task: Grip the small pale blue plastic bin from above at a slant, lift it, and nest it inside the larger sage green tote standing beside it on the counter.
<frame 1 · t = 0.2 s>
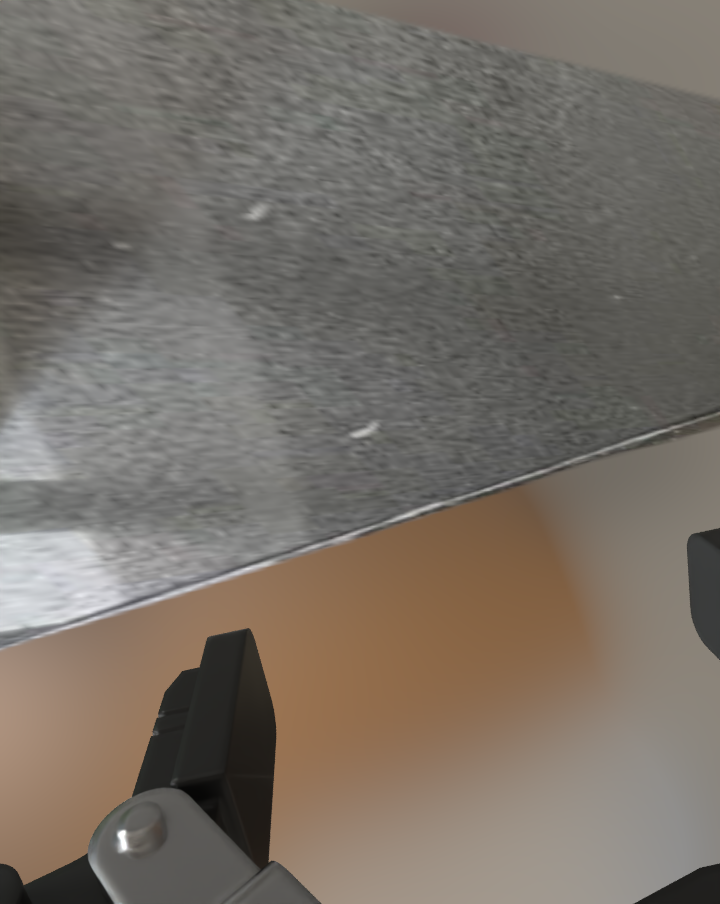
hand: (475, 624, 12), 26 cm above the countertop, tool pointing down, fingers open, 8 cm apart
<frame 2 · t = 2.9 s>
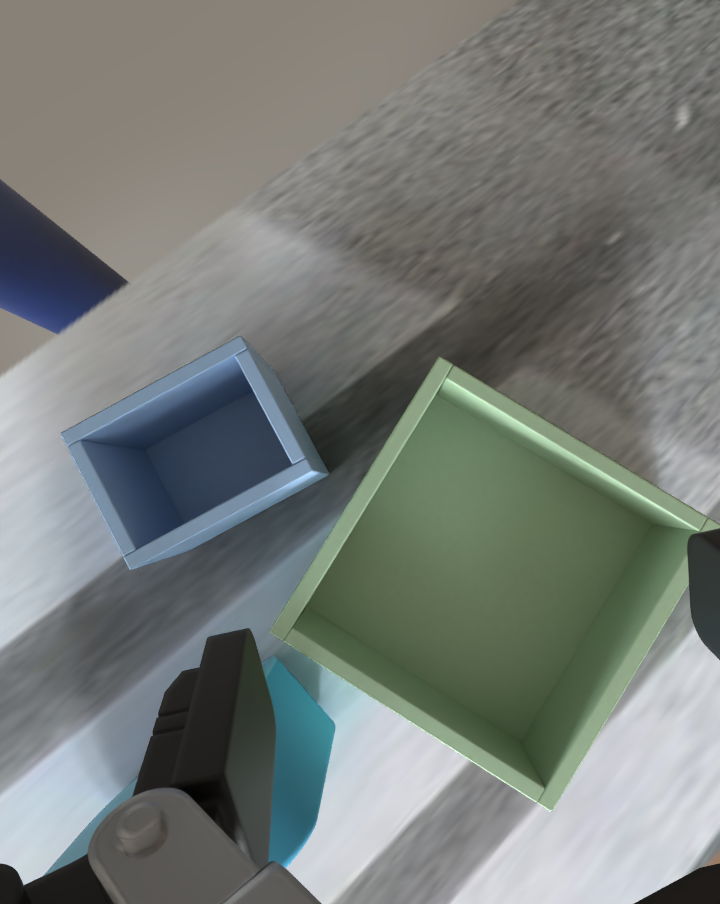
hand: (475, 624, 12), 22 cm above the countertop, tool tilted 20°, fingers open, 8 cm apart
green tote: (475, 563, 34), on the countertop
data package: (219, 763, 34), on the countertop
small bin: (231, 459, 34), on the countertop
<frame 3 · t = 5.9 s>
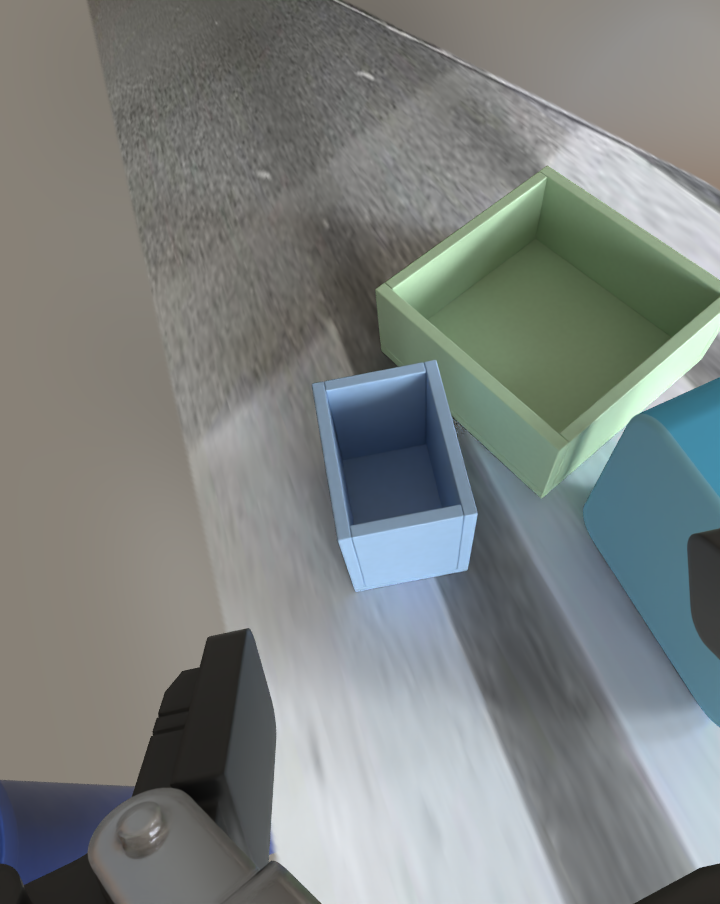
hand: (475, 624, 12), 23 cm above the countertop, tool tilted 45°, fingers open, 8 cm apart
green tote: (537, 354, 42), on the countertop
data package: (679, 600, 34), on the countertop
small bin: (396, 511, 38), on the countertop
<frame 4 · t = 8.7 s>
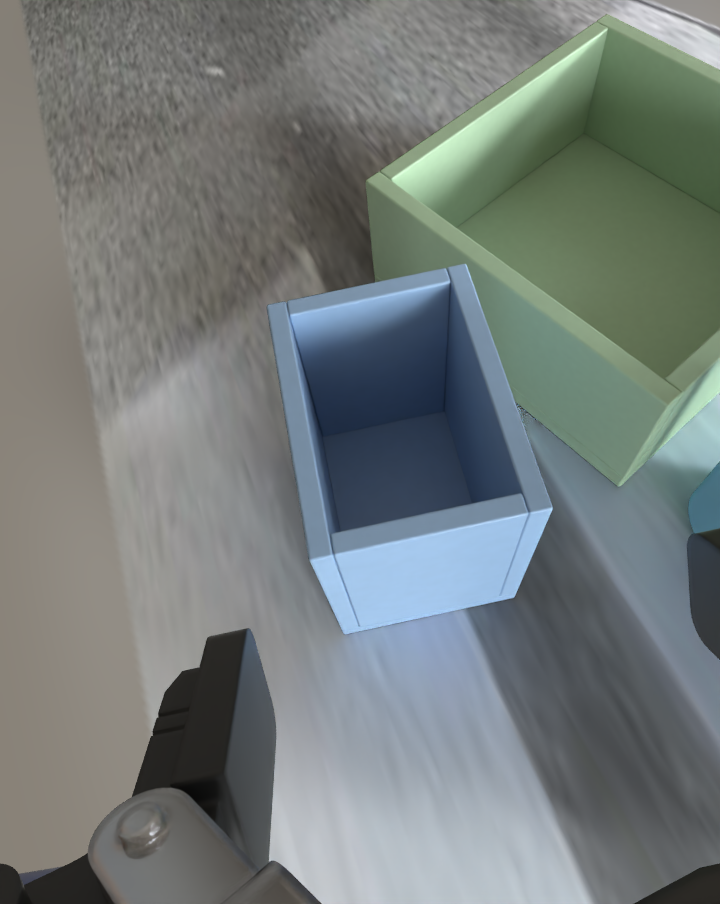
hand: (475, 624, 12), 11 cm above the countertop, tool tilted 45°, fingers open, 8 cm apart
green tote: (595, 285, 29), on the countertop
small bin: (403, 510, 25), on the countertop
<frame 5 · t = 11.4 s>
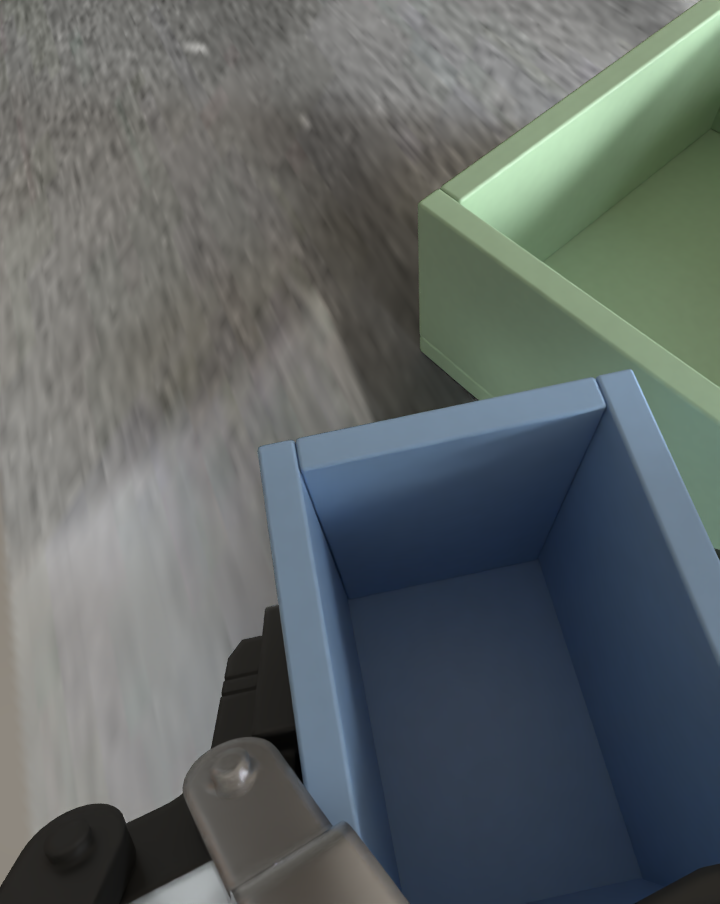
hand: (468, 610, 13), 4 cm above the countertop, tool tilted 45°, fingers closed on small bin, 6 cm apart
small bin: (478, 727, 16), on the countertop, touching gripper
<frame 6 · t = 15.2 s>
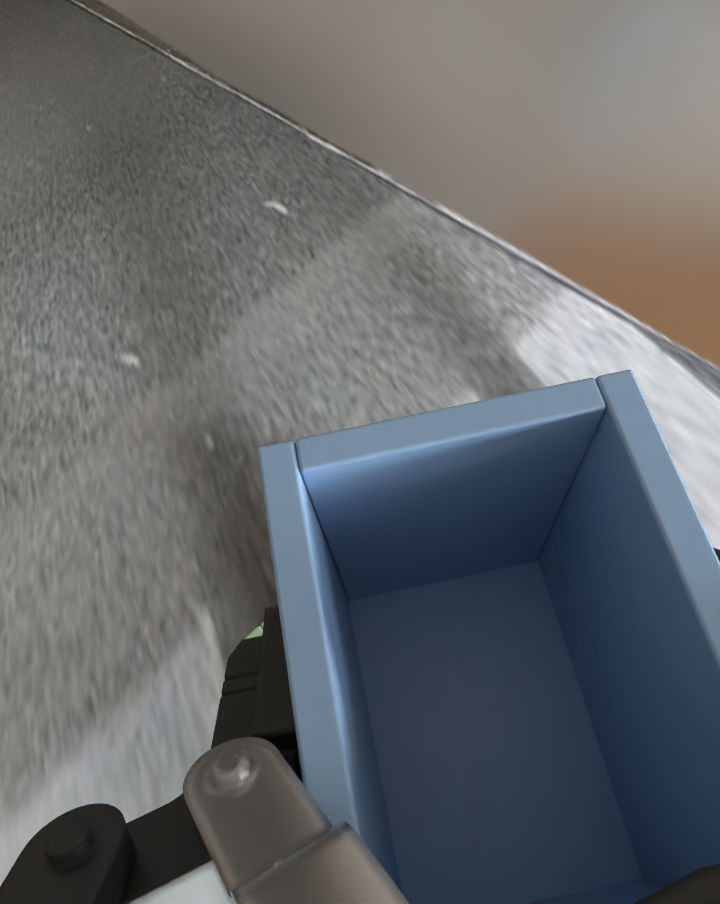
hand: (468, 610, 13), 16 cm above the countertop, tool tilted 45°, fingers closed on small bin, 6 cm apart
small bin: (478, 728, 16), point 12 cm above the countertop, touching gripper
when the fingers open (5 cm above the countertop, at t = 19.2 s): small bin stays where it is, resting on green tote.
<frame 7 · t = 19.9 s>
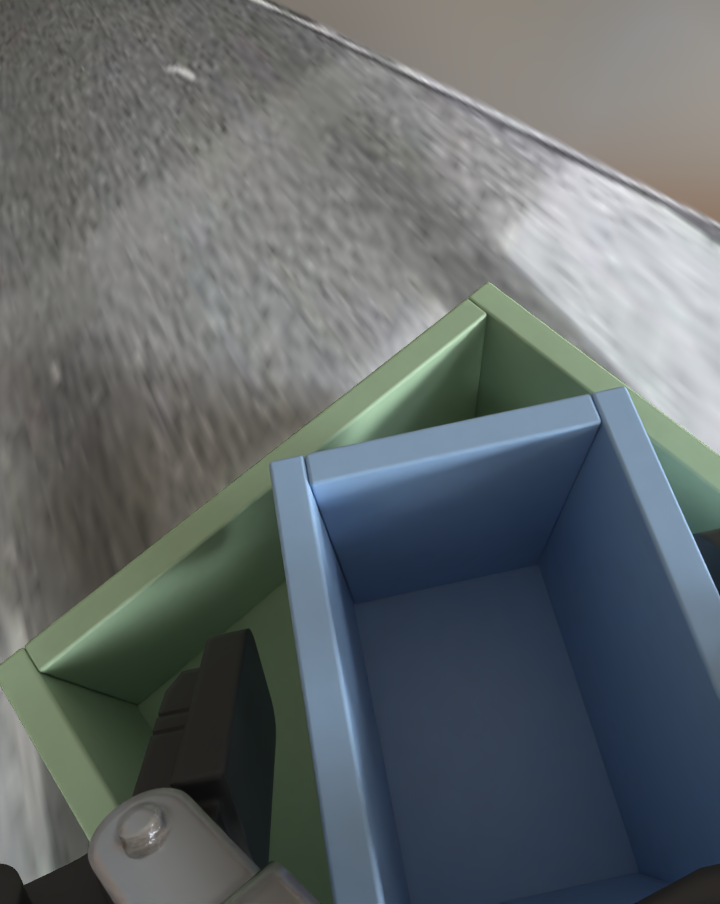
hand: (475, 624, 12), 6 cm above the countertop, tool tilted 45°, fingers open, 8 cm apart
green tote: (475, 732, 17), on the countertop
small bin: (480, 727, 16), point 1 cm above the countertop, touching green tote
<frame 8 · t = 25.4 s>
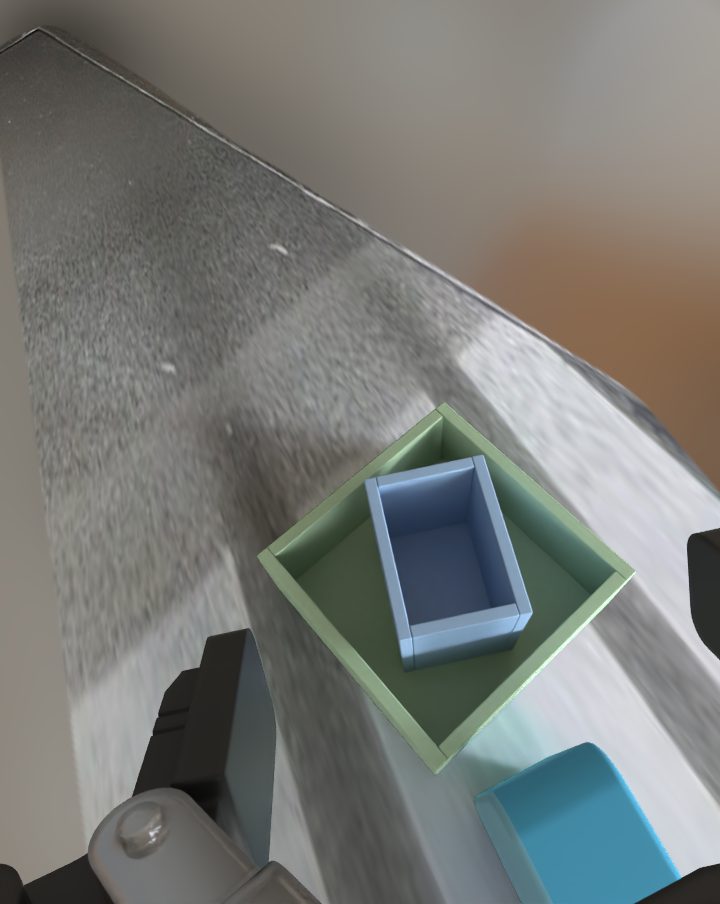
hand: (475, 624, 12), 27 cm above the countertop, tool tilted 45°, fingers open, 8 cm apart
green tote: (438, 594, 40), on the countertop
small bin: (440, 590, 39), point 1 cm above the countertop, touching green tote
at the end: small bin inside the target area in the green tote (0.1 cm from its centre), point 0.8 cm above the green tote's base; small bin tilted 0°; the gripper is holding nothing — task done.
